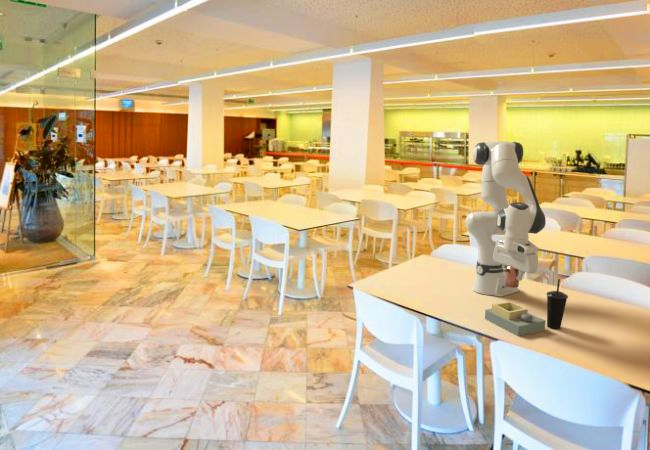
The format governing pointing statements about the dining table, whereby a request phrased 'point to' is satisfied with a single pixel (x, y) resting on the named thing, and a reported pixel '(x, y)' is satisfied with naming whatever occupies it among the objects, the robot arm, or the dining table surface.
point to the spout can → (511, 277)
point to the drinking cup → (555, 307)
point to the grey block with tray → (514, 318)
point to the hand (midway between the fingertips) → (512, 277)
